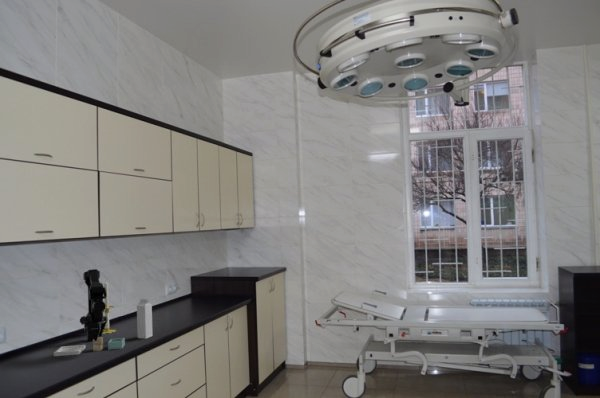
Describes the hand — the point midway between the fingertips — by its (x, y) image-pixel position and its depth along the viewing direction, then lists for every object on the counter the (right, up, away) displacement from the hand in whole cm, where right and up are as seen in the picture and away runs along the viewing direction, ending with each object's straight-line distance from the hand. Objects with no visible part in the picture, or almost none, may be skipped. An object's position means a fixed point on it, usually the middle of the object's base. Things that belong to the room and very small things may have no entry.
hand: (97, 338), depth 244 cm
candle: (-12, -8, +40) cm, 43 cm away
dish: (-13, -6, -3) cm, 15 cm away
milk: (+17, -6, +23) cm, 30 cm away
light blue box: (+9, -6, +3) cm, 11 cm away
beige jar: (0, -6, 0) cm, 6 cm away
